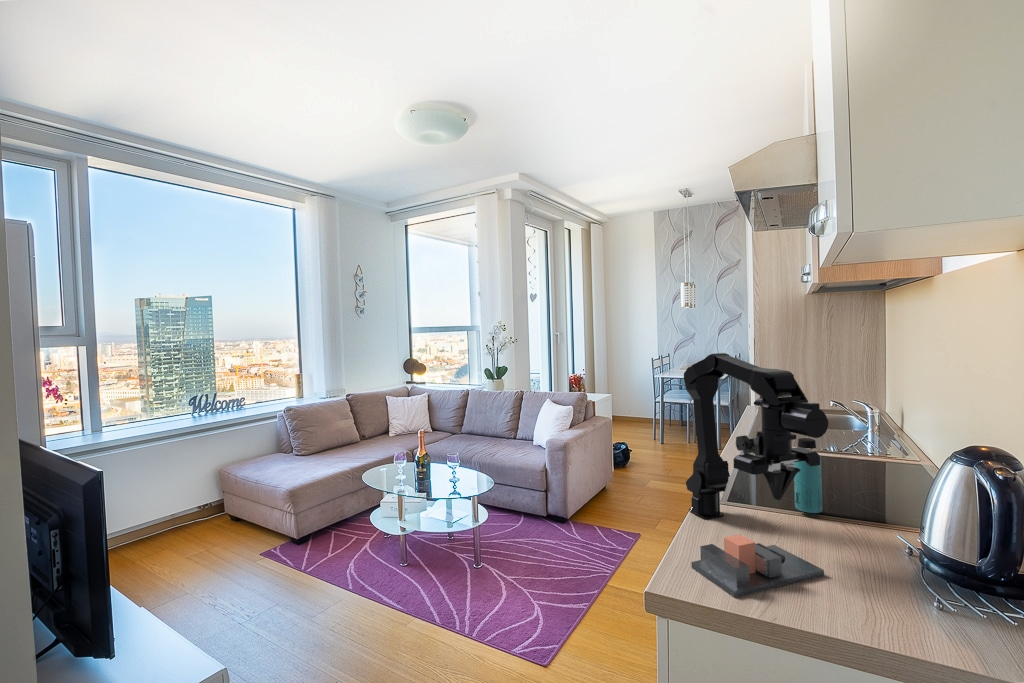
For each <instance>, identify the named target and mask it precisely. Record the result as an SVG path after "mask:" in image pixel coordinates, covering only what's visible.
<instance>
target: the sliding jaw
mask: <svg viewBox="0 0 1024 683" xmlns="http://www.w3.org/2000/svg"><path fill="white" fill-rule="evenodd" d="M766 546H767V545H764V544H763V543H760V542H757V543H755V565H756V570H757V571H759V572H760V573H762V574H764V575H765V576H767V577H769V578H771V577H775V576H780V575H782V563H784V562H785V556H783V555H781V554H779V553H777V552H776V551H774V550H772V549H770V548H768V547H766Z"/></svg>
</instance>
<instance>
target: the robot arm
mask: <svg viewBox="0 0 1024 683" xmlns="http://www.w3.org/2000/svg"><path fill="white" fill-rule="evenodd" d="M725 375H727V376H730V377H732V378H734V379H737V380H738V381H742V382H743V383H745V384H747V385H749V388H750V389H751V391H752V392H754V393H755V394H757V395H759V397H758V398H757V399H756V400H755V401H753V405H754V406H758V407H761V409H760V410H761V411H760V414H761V415H760V416H761V420H760V421H761V430H758V431H757V432H756V434H755V435H756V436H755V437H754V438H749V437H748V436H747V435H739V436H736V437H735V448H736V450H737V451H739V452H741V451H742V453H743V454H737V455H735V456H734V458H733V468H734V469H737V470H739V471H742V472H745V473H747V474H750V475H755V476H756V475H757V476H758V475H762V474H763V476H764V478H765V479H766V481H767V484H768V486H769V489H770V492H771V494H772V498H773V499H774V500H777V501H780V500H782V499H783V497H784V495H785V493H786V491H788V490H787V489H788V488H789V487H790V485H791V483H792V482H793V481H794V477H795V475H796V474H797V473H798V472H800V469H798V468H795V464H794V462H799V461H806V463H807V464H808V465H809V466H818V465H820V456H821V455H820V454H819V453H818V452H817V451H814V450H812V449H807V448H801V447H798V446H797V447H792V446H793V444H792V440H797V435H801V436H804V437H809V438H812V439H819V438H821V437H823V436H824V435H825V434H826V432H827V431H828V427H829V419H828V417H827V415H826V413H825V411H824V410H822V409H821V408H820V403H818V402H809V400H808V399H807V396H806V394H805V393H804V392H803V390H802V389H801V386H800V385H799V384H798V382H797V380H796V379H795V375H794V373H793V372H791V371H789V370H785V369H779V368H778V369H777V368H765V367H760V366H759V365H758V366H757V365H755V364H752V363H750V362H747V361H744V360H742V359H740V358H736V357H733V356H732V355H731V354H728V353H726V352H720V353H719V352H718V353H715V352H714V353H710V354H708V355H707V356H706V357H705V358H703V359H701V360H700V361H697V362H695V363H694V364H692V365H691V366H688V367H687V368H686V370H685V371H684V372H683V381H684V385H685V390H686V391H687V393H688V395H689V396H690V397H691V398H692V402H693V410H694V411H693V412H694V420H695V421H694V422H695V432H696V434H695V435H696V443H697V455H696V458H695V460H694V462H693V466H692V474H691V475H690V476H689V478H687V480H686V481H685V484H686V485H685V486H686V490H687V491H688V492H691V493H692V495H691V508H692V507H693V508H692V510H691V508H689V509H688V511H689V512H690V510H691V512H690V513H692V514H694V515H696V516H698V517H700V518H702V519H704V520H708V519H709V520H710V519H713V518H719V517H724V516H725V513H724V512H721V500H720V499H721V497H720V496H721V495H720V494H721V493H722V492H723V493H724V492H726V489H727V486H728V484H729V479H730V477H731V474H730V471H729V463H728V461H727V460H724V459H723V457H721V455H720V454H719V453H720V452H719V445H718V444H719V443H718V435H717V423H716V415H715V406H714V405H715V404H714V398H715V396H716V394H717V391H718V390H719V381H720V380H721V379H722V378H723V377H724V376H725ZM754 454H755V455H754ZM818 454H819V455H820V456H819V455H818ZM760 456H762V457H760Z"/></svg>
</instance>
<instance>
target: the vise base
mask: <svg viewBox="0 0 1024 683" xmlns="http://www.w3.org/2000/svg"><path fill="white" fill-rule="evenodd" d="M765 546H766V547H768V548H770V549H772V550H774V551H776V552H777V553H779V554H781V555H783V556H785V562H784V563H782V575H780V576H775V577H771V578H769V577H767V576H765V575H764V574H762V573H760V572H759V571H757V570H756V572H755V573H751V574H749V565H747V564H746V563H744V562H742V561H740V560H739V559H737V558H735V557H734V556H732V555H730V554H729V553H727V552H725V551H724V550H723V549H722V548H721V547H718V546H717V545H716V544H713V543H710V544H705V545H704V544H703V545H700V560H695V561H691V562H690V563H691V568H692V569H693V570H694V571H695V572H697V573H699V574H700V575H702V576H703V577H705V579H707V580H709V582H711V583H713V584H714V585H716V586H717V587H719V589H721V590H723V591H724V592H726V593H727V594H729V595H730V596H731V595H732V596H731V597H732V598H734V599H735V597H736V598H739V596H740V597H743V596H748V595H752V594H755V593H761V592H763V591H768V590H773V589H777V588H781V587H783V586H788V585H792V584H796V583H797V584H798V583H802V582H805V581H809V580H813V579H818V578H822V577H824V576H825V570H824V569H823V568H821V567H819V566H817V565H815V564H813V563H811V562H809V561H807V560H805V559H803V558H801V557H800V556H797V555H796V554H794V553H791V552H789V551H787V550H785V549H783V548H782V547H779V546H777V545H776V544H772V545H765Z"/></svg>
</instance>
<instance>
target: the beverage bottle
mask: <svg viewBox="0 0 1024 683" xmlns="http://www.w3.org/2000/svg"><path fill="white" fill-rule="evenodd" d="M797 440H798V441H797V447H800V448H804V449H808V450H812V449H813V450H815V449H816V448H817V444H816V443H817V442H816V440H815V438H811V437H809V438H808V437H799V438H798V439H797ZM818 455H819V456H820V465H818V466H809V465H808V464H807V463H806V461H799V462H794V464H795V468H798V469H800V472H798V473H797V474H796V475H795V477H794V478H793V484H794V485H793V488H794V489H793V495H794V503H793V505H794V507H795V509H796V510H798V511H801V512H804V513H810V514H819V513H821V512H823V508H824V507H823V501H824V498H823V480H822V478H823V477H822V456H821V455H820V454H819V453H818Z"/></svg>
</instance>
